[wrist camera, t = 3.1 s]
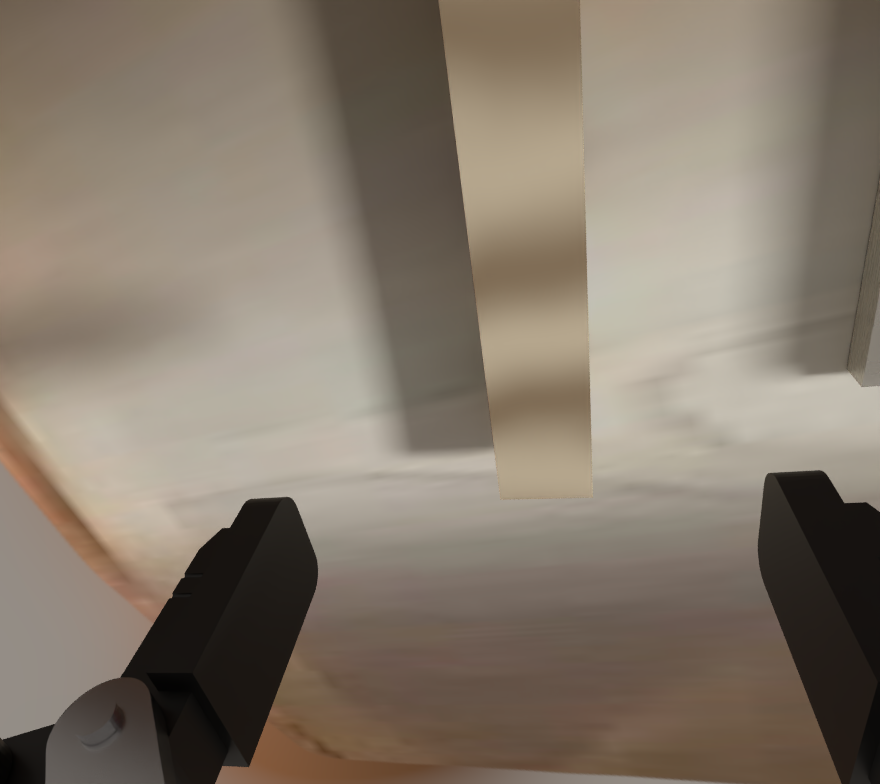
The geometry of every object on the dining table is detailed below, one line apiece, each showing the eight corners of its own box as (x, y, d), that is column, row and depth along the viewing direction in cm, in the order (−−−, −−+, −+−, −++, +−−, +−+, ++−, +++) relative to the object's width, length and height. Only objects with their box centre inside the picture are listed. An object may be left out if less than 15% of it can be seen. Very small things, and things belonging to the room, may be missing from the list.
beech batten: (445, -104, 21) (422, -129, 17) (567, -129, 20) (575, -162, 16) (505, 434, 32) (500, 499, 28) (585, 430, 31) (592, 497, 27)
